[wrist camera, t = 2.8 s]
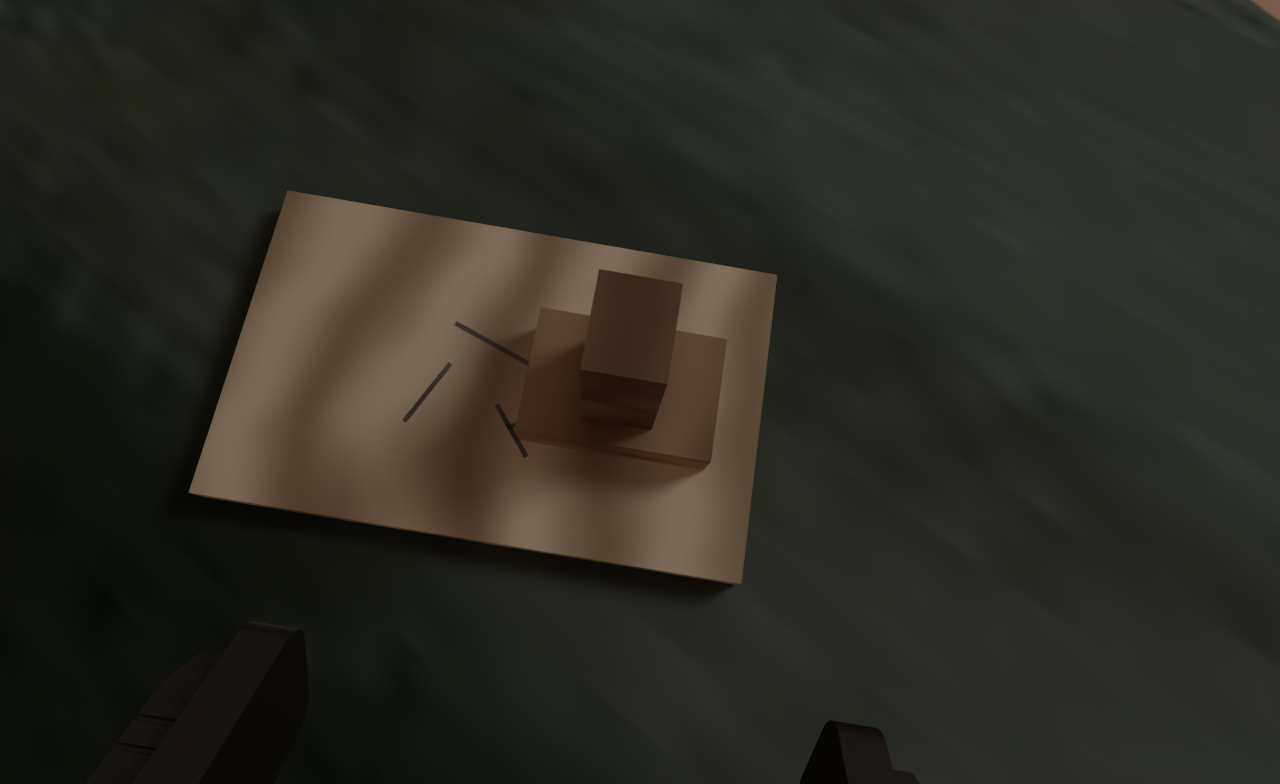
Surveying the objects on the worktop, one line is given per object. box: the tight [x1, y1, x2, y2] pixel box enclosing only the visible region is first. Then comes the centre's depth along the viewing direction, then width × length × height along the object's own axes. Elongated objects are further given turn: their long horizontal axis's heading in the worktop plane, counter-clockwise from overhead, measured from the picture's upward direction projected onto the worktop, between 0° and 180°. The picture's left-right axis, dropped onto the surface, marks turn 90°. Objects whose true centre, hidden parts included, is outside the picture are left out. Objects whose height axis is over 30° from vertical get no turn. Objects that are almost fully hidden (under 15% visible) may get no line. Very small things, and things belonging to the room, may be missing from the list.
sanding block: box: [515, 269, 727, 471], centre depth 32 cm, size 9×6×10 cm, turn 81°
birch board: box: [189, 191, 777, 585], centre depth 38 cm, size 26×16×2 cm, turn 81°
